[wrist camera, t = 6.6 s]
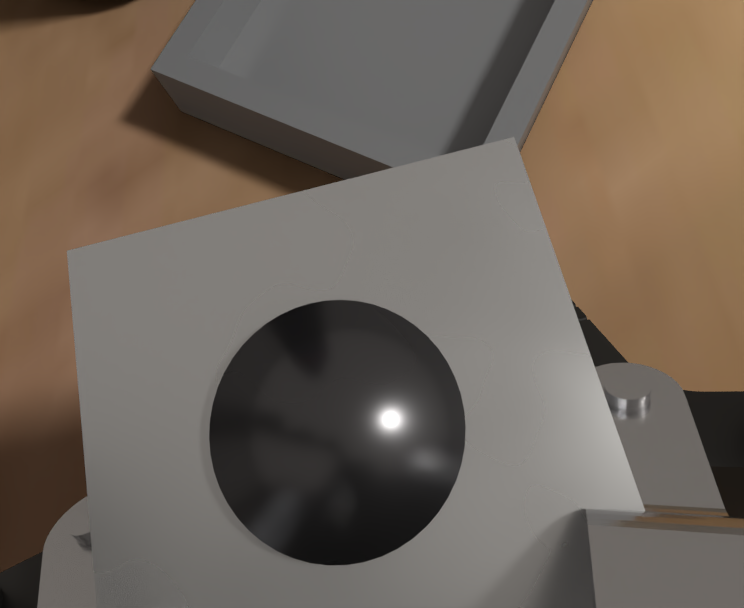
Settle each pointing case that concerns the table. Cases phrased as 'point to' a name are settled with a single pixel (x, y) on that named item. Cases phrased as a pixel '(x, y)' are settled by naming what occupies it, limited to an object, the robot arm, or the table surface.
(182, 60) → the tray
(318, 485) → the grey tall block
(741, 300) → the table surface
